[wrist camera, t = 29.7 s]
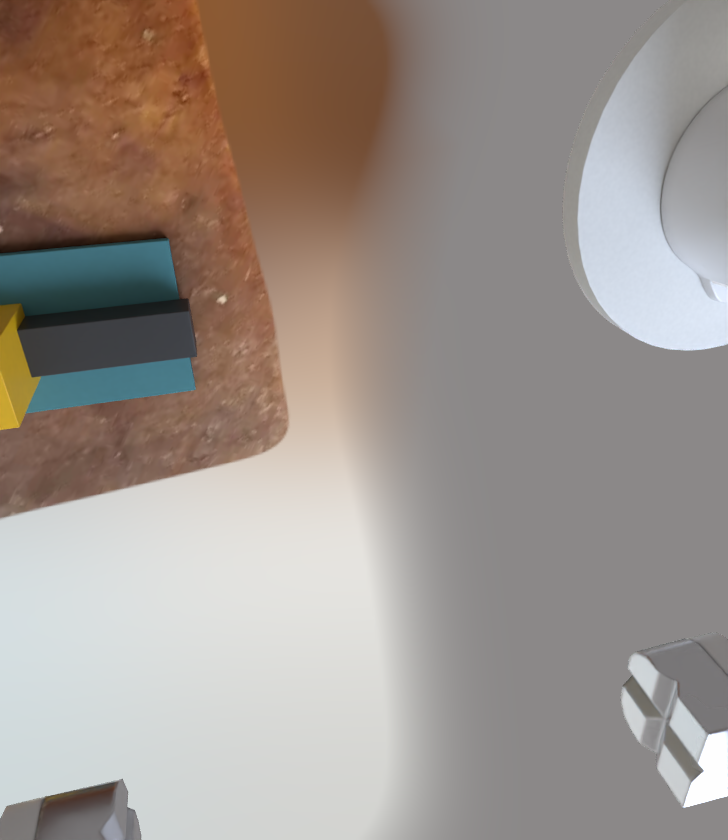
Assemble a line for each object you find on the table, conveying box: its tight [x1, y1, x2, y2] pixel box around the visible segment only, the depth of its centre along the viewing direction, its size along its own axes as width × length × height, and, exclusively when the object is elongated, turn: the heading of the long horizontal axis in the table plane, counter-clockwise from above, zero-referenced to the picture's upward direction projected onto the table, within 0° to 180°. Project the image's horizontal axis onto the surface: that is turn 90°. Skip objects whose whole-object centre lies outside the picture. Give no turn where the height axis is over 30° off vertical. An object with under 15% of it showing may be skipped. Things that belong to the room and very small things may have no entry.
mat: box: [0, 238, 195, 413], centre depth 40 cm, size 14×10×1 cm
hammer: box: [0, 299, 197, 430], centre depth 37 cm, size 16×5×7 cm, turn 92°
